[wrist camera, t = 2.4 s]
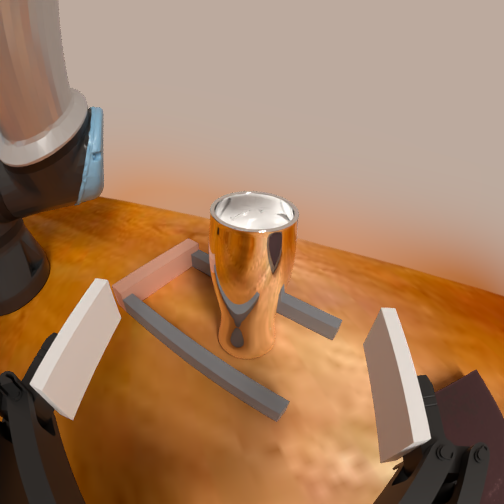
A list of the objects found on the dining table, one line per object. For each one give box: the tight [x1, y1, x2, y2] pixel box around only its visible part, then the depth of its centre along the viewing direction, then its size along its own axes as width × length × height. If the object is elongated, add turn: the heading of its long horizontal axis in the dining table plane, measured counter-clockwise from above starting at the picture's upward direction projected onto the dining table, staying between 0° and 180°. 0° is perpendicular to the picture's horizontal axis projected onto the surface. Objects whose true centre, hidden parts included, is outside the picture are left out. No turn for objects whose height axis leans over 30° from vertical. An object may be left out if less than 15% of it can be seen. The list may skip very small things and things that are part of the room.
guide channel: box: [112, 238, 342, 422], centre depth 30 cm, size 23×13×3 cm, turn 55°
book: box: [435, 370, 504, 504], centre depth 14 cm, size 12×19×3 cm, turn 11°
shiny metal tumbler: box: [209, 191, 299, 359], centre depth 25 cm, size 7×7×15 cm
